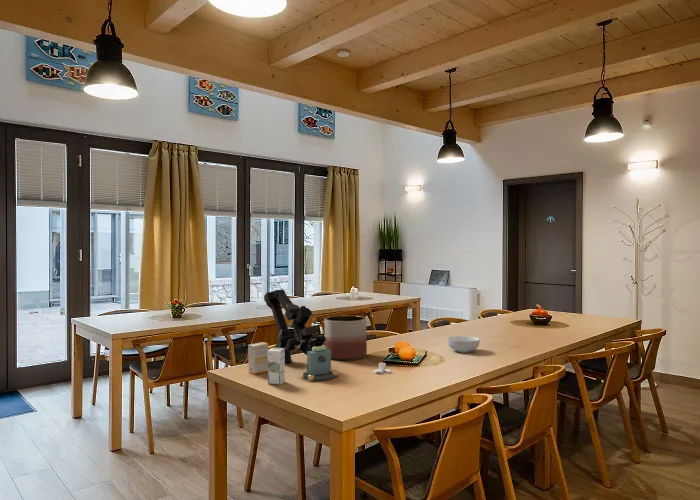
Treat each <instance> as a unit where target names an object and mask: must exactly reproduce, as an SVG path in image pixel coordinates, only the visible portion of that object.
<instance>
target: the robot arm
mask: <svg viewBox="0 0 700 500" xmlns="http://www.w3.org/2000/svg"><path fill="white" fill-rule="evenodd" d="M263 300H264V302H265V303H266V306H267V307H268V308H270V309H271V312H272V314H273V318H274V321H275V322H274V323H275V324H276V328H277V331H278V336H277V341H276V343H275V346H274V348H284V349H285V364H293V359H292V351H293V350H295V349H296V347H298V349H297V351H299V352H301V353H303V354H304V355H306V356H307V352H308V351H312V347H318V346H324V342H325V340H326V338H325V334H324V335H323V334H322V335H320V334H319V335H316V336H315V338H313V337H314V335H315V334H316V333H318V332H319V329H318V326H317V324H316V325H315V324H314V325H312V326H306V325H307V323H308V322H309V321H310V319H311V317H312V314H313V313H312V310H311V309H309V307H306V305H301V306H299V305H297V304H294V303H293V301H292V300H291V299H290V298H289V296H288V295H287V294H286V291H285V289H274V290H273V291H268V292H266V293H265V294H264V296H263ZM281 306H282V307H283V309H284V311H285V313H283V309H282V307H281ZM285 317H286V319H287V320H288V321H292V322H291V324H290V329H289V327H288V323H287V322H286V319H285ZM292 329H293V330H292ZM294 333H295V334H294Z"/></svg>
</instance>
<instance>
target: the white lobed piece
mask: <svg viewBox="0 0 700 500" xmlns="http://www.w3.org/2000/svg"><path fill="white" fill-rule="evenodd" d="M386 367H387V364H386V363H385V362H379V363H378V368H377V369H374V370H373V373H375V374H381V375H385V374H386V375H387V374H390V373H391V372H392V370H391V369H387V368H386ZM385 371H386V372H385Z"/></svg>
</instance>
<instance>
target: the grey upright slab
mask: <svg viewBox="0 0 700 500" xmlns="http://www.w3.org/2000/svg"><path fill="white" fill-rule="evenodd" d="M306 357H307V358H306V361H307V362H306V364H307V365H306V366H307V367H306V371H307V374H308V375H309V374H313V375H320V374H326V373H331V371H332V367H331V366H332V359H331V350H329V349H326V346H324V345H322V346H318V347H315V346H314V347H312V351H308V352H307V355H306Z"/></svg>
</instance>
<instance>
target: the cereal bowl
mask: <svg viewBox="0 0 700 500" xmlns="http://www.w3.org/2000/svg"><path fill="white" fill-rule="evenodd" d="M447 344H448V346H449V347H450V348H451V349H452V350H454V351H456V352H457V353H463V354H464V353H465V354H466V353H467V354H468V353H471V352H472V351H475V350H477V349H478V347H479V346H480V338H479V337H476V336H470V335H469V336H467V335H454V336H450V337H448V338H447Z"/></svg>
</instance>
